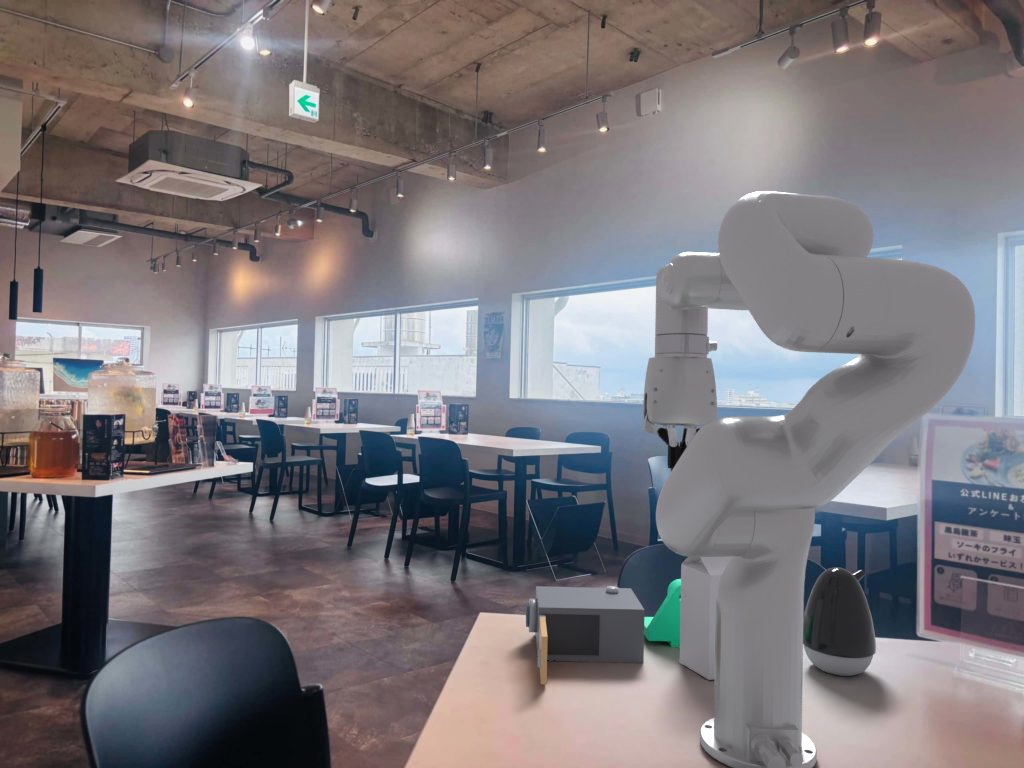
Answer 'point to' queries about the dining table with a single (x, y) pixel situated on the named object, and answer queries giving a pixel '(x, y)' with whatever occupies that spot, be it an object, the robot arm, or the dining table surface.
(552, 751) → the dining table surface
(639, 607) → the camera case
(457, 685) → the dining table surface
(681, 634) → the milk carton
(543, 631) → the tan cabinet door
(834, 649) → the black and white egg
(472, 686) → the dining table surface
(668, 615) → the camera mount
